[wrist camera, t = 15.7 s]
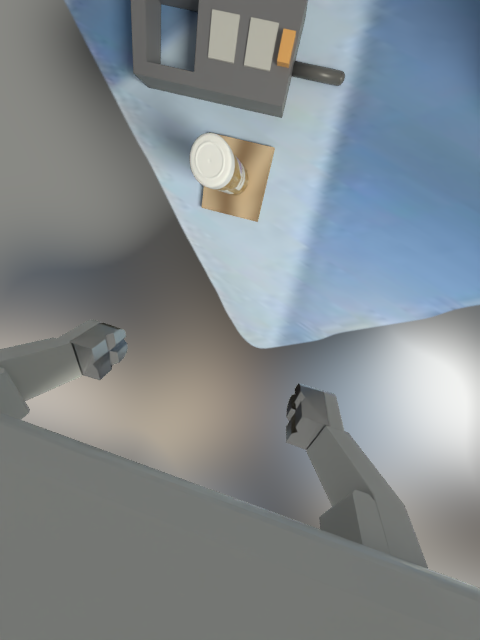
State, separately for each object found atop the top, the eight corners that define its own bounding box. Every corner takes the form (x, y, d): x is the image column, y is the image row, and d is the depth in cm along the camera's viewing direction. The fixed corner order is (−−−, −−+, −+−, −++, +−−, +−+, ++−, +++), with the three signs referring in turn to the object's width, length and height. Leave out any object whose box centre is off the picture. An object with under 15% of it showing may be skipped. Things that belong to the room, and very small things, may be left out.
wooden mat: (274, 149, 30) (274, 147, 29) (257, 221, 35) (257, 221, 34) (210, 134, 31) (209, 132, 30) (203, 207, 36) (201, 207, 35)
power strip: (360, 27, 24) (375, -7, 20) (327, 128, 28) (335, 115, 24) (147, -16, 25) (124, -56, 21) (148, 87, 29) (129, 69, 26)
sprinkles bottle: (254, 182, 32) (240, 166, 20) (231, 202, 34) (206, 197, 22) (238, 153, 31) (212, 118, 19) (215, 175, 32) (179, 155, 21)
